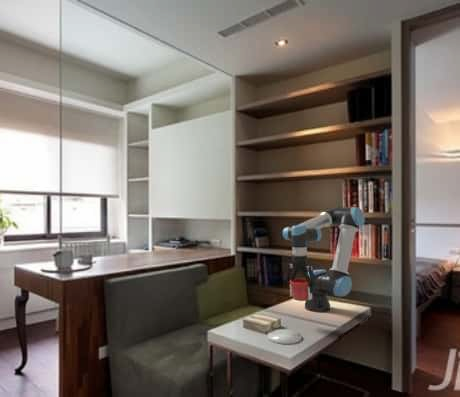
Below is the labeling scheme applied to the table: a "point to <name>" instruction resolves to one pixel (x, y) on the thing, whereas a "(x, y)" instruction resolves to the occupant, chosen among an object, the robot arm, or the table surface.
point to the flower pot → (299, 289)
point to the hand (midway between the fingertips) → (301, 297)
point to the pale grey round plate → (284, 336)
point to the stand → (262, 323)
